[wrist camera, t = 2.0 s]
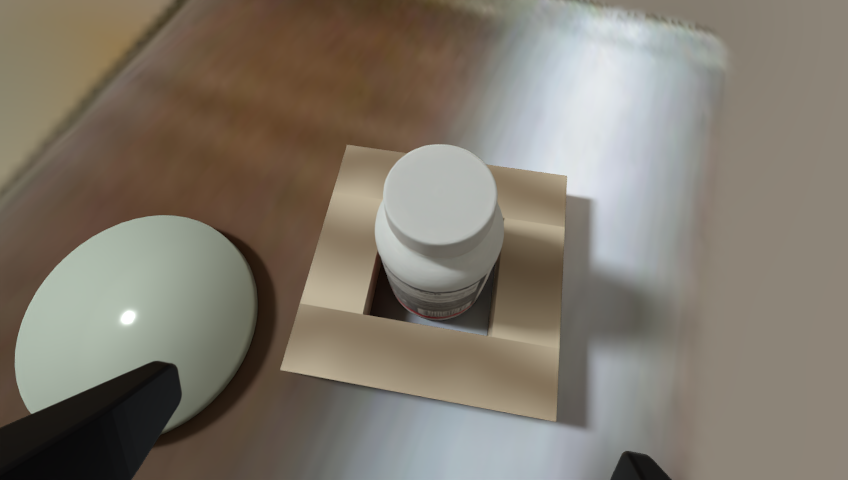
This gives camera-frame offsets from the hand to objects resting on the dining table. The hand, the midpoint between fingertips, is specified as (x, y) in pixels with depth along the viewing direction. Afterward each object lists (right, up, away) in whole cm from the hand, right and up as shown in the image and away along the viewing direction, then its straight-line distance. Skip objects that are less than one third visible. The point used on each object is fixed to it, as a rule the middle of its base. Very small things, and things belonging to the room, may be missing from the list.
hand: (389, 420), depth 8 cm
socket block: (+1, +2, +15) cm, 15 cm away
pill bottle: (+1, +2, +15) cm, 15 cm away
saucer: (-14, -1, +14) cm, 20 cm away
